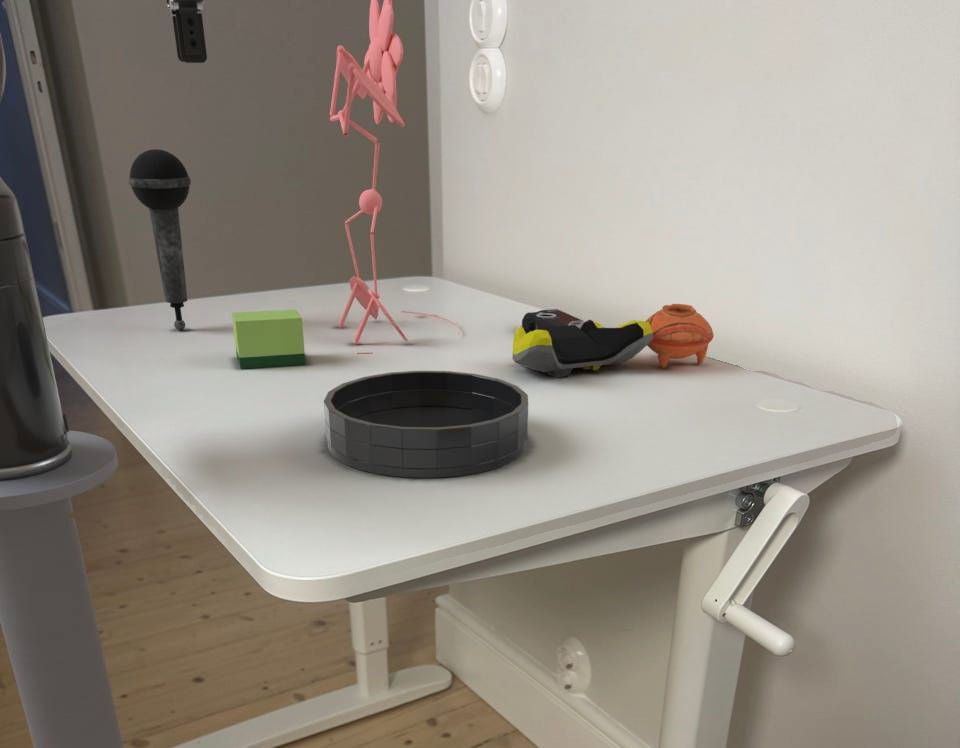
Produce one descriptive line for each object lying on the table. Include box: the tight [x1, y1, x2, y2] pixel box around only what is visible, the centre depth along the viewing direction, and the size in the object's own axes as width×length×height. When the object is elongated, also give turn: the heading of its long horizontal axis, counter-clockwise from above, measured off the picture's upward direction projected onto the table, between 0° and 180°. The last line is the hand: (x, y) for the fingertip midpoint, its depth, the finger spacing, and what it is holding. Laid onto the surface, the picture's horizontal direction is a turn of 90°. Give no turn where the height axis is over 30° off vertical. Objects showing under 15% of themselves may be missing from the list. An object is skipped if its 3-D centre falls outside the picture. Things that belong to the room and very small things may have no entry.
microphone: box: [128, 148, 192, 331], centre depth 116 cm, size 7×7×20 cm
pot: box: [644, 303, 714, 369], centre depth 109 cm, size 8×8×7 cm
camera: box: [521, 308, 585, 332], centre depth 120 cm, size 6×3×11 cm
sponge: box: [231, 308, 307, 370], centre depth 108 cm, size 7×4×5 cm, turn 107°
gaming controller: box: [512, 319, 653, 377], centre depth 105 cm, size 15×6×10 cm
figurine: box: [329, 0, 460, 355], centre depth 113 cm, size 15×26×35 cm, turn 18°
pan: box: [323, 370, 529, 479], centre depth 85 cm, size 17×17×4 cm
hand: (192, 62), depth 91 cm, fingers open, 8 cm apart
